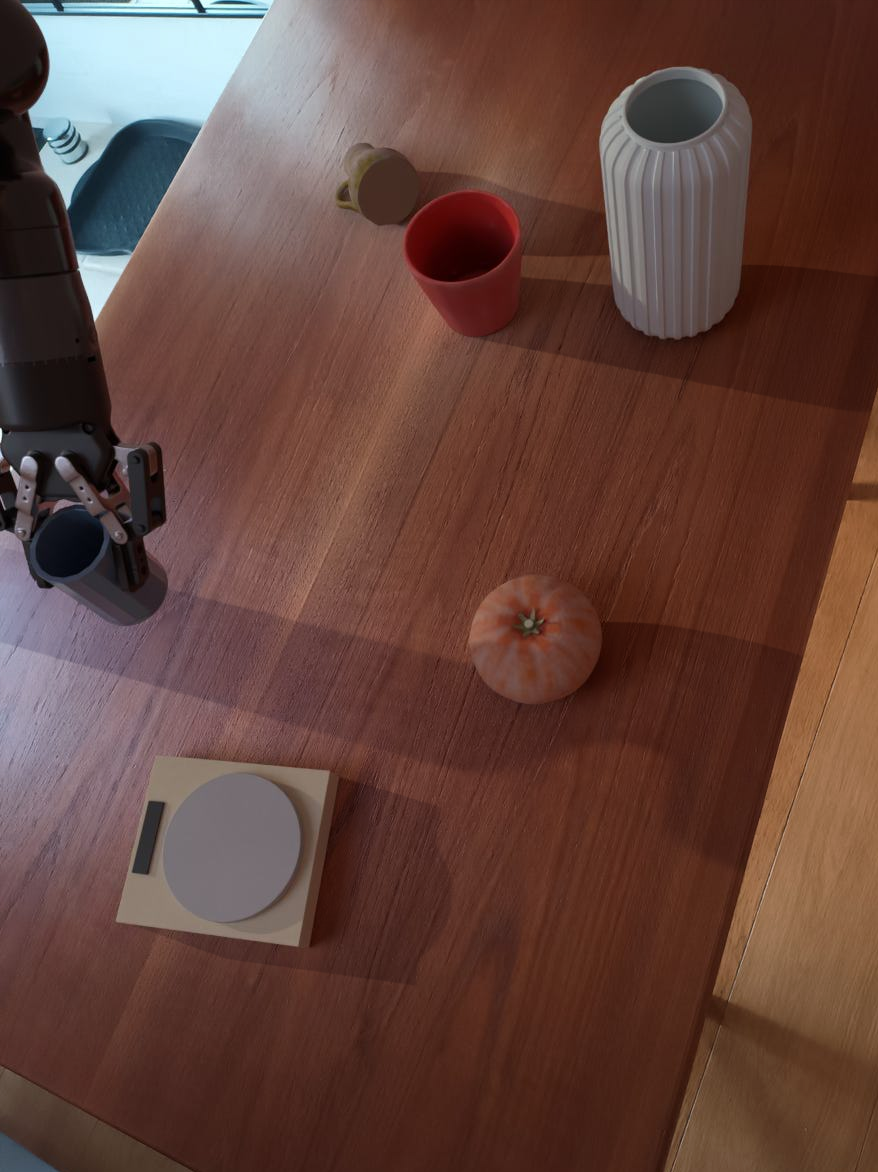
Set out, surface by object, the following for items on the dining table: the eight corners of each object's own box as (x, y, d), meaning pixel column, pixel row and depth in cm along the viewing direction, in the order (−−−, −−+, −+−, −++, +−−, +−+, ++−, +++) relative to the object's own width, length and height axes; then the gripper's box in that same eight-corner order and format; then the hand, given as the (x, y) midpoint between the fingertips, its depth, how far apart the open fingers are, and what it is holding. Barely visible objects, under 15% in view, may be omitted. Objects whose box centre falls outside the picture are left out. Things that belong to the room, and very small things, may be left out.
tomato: (617, 700, 81) (611, 670, 74) (490, 728, 82) (471, 700, 75) (590, 583, 85) (582, 543, 78) (469, 611, 86) (450, 574, 79)
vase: (757, 326, 91) (779, 129, 70) (639, 370, 92) (626, 188, 71) (711, 236, 95) (719, 26, 75) (598, 279, 96) (576, 82, 76)
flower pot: (516, 359, 95) (499, 291, 86) (412, 341, 98) (385, 274, 89) (549, 270, 98) (536, 195, 89) (447, 255, 101) (424, 182, 92)
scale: (130, 924, 83) (110, 921, 80) (168, 760, 87) (150, 752, 84) (309, 948, 79) (294, 946, 76) (339, 776, 84) (327, 768, 81)
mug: (384, 150, 108) (397, 99, 98) (416, 235, 108) (433, 193, 98) (319, 168, 106) (326, 117, 96) (353, 254, 106) (363, 213, 97)
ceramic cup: (84, 584, 77) (17, 537, 69) (148, 540, 78) (88, 488, 70) (115, 641, 75) (49, 599, 67) (181, 596, 75) (123, 548, 67)
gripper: (-98, 359, 62) (-28, 603, 70) (105, 356, 59) (157, 612, 66) (-20, 340, 69) (37, 565, 76) (166, 337, 66) (208, 571, 73)
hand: (93, 586), depth 71 cm, fingers closed on ceramic cup, 6 cm apart
